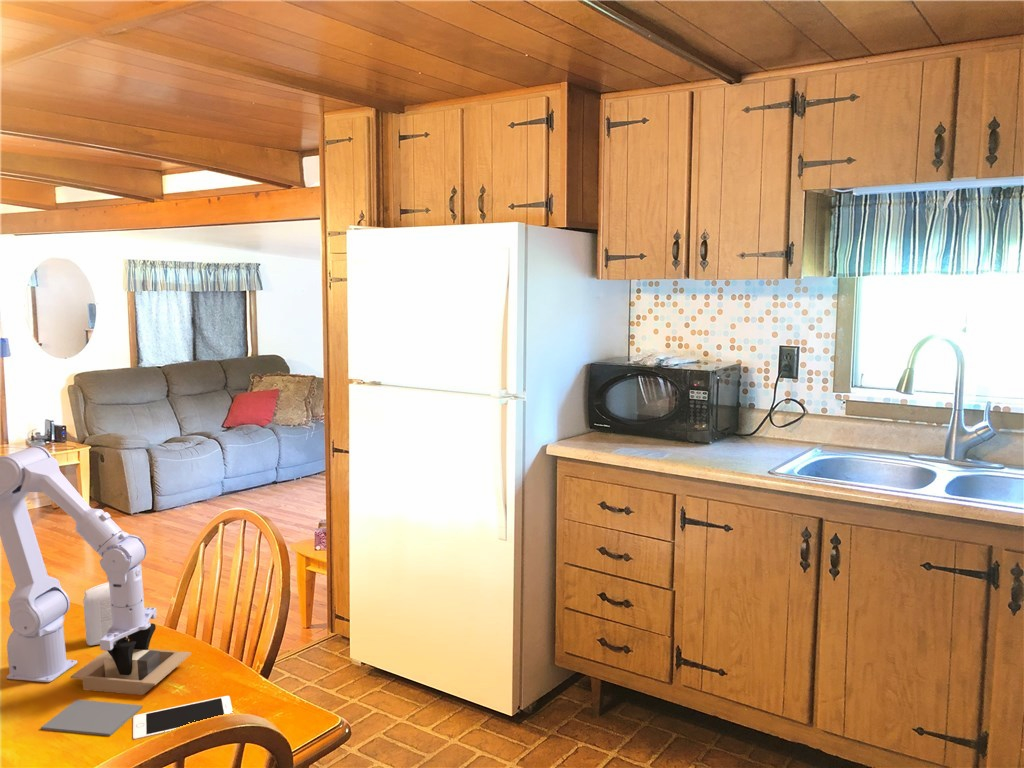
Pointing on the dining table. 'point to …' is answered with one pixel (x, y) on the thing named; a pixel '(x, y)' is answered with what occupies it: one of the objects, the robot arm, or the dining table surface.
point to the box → (134, 665)
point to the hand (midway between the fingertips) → (132, 668)
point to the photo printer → (97, 613)
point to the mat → (92, 717)
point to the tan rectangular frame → (97, 681)
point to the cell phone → (178, 716)
